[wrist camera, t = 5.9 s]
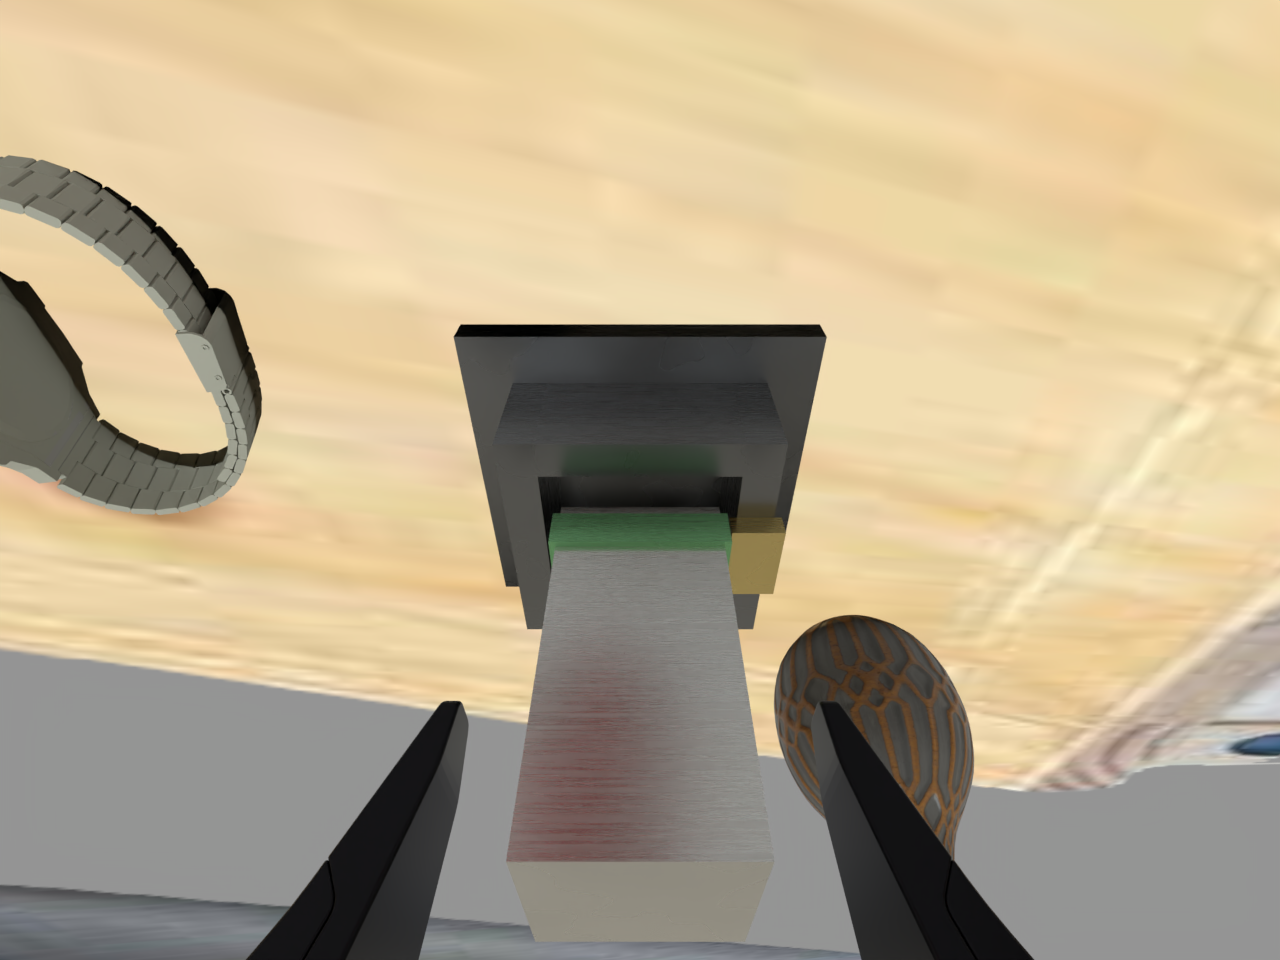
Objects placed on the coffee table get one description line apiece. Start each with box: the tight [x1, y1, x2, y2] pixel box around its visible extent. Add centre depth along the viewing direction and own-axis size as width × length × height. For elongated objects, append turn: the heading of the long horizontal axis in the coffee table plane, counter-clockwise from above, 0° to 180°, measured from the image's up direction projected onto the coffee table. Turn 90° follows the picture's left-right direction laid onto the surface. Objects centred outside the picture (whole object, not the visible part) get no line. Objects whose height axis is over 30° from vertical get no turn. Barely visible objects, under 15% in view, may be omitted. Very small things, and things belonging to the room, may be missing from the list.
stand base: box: [454, 324, 827, 629], centre depth 18 cm, size 10×10×4 cm
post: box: [506, 507, 774, 942], centre depth 13 cm, size 4×4×8 cm
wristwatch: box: [0, 155, 262, 515], centre depth 15 cm, size 9×6×5 cm
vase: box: [774, 615, 974, 861], centre depth 22 cm, size 7×7×9 cm
